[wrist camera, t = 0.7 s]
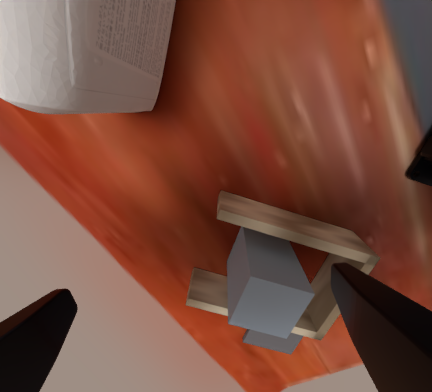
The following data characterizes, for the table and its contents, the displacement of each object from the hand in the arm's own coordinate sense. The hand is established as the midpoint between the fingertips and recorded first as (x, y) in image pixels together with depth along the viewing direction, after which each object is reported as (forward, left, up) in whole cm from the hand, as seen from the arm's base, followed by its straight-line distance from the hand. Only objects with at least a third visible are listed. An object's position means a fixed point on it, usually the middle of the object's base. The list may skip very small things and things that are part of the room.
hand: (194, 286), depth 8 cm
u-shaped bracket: (-7, +6, -13) cm, 16 cm away
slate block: (-6, +6, -13) cm, 15 cm away
